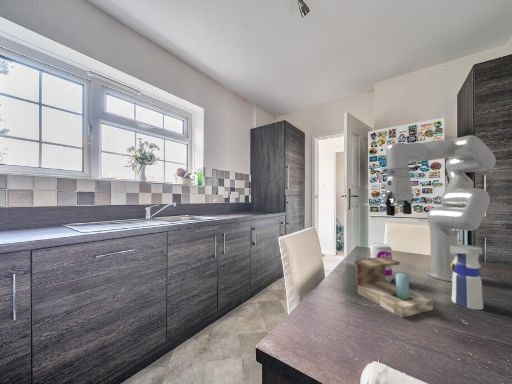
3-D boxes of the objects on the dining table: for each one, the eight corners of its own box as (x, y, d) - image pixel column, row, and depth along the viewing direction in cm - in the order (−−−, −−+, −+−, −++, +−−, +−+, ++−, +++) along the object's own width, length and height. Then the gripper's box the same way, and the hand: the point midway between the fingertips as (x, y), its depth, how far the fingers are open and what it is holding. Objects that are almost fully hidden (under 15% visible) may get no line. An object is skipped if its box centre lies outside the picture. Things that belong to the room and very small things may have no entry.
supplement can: (395, 284, 88) (395, 247, 88) (374, 282, 90) (373, 246, 90) (387, 276, 96) (387, 243, 96) (367, 275, 98) (367, 242, 98)
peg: (411, 307, 70) (411, 276, 70) (404, 309, 68) (403, 278, 69) (401, 302, 73) (400, 272, 73) (393, 303, 72) (393, 274, 72)
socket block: (383, 286, 85) (382, 256, 85) (433, 309, 68) (432, 271, 68) (355, 292, 81) (355, 260, 81) (401, 317, 64) (401, 277, 64)
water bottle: (444, 300, 74) (443, 228, 75) (457, 295, 78) (456, 227, 78) (475, 312, 67) (474, 232, 67) (489, 306, 70) (487, 230, 71)
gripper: (391, 172, 82) (393, 217, 81) (421, 172, 88) (422, 214, 88) (374, 174, 89) (375, 215, 88) (403, 174, 95) (404, 212, 95)
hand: (399, 214), depth 88 cm, fingers open, 9 cm apart
